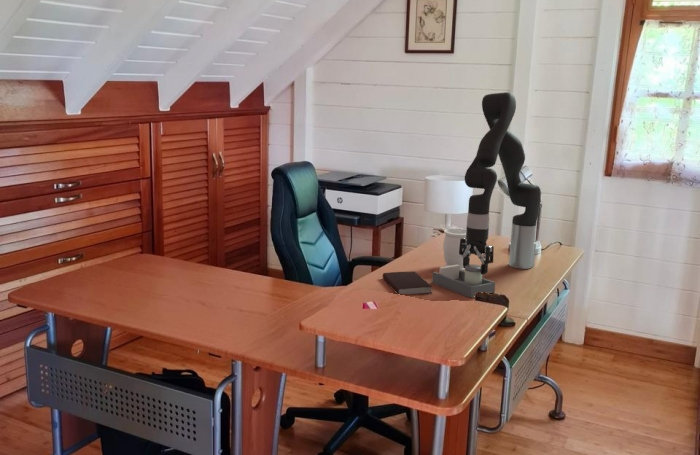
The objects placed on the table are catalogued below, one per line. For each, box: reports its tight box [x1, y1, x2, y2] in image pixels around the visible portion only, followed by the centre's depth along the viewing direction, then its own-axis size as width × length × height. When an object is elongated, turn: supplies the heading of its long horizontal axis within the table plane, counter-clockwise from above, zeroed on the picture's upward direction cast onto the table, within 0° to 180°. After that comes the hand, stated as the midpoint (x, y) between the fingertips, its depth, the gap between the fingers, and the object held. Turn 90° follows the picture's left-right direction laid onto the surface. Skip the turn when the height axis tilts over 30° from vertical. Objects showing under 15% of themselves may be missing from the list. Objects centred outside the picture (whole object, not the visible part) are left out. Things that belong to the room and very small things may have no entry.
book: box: [382, 271, 433, 295], centre depth 242 cm, size 12×19×3 cm, turn 13°
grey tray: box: [431, 270, 496, 299], centre depth 241 cm, size 11×20×4 cm, turn 34°
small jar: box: [464, 263, 483, 286], centre depth 236 cm, size 6×6×8 cm
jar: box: [442, 228, 468, 271], centre depth 264 cm, size 11×10×15 cm
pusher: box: [438, 265, 460, 279], centre depth 246 cm, size 8×2×5 cm, turn 124°
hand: (474, 271), depth 236 cm, fingers open, 8 cm apart
